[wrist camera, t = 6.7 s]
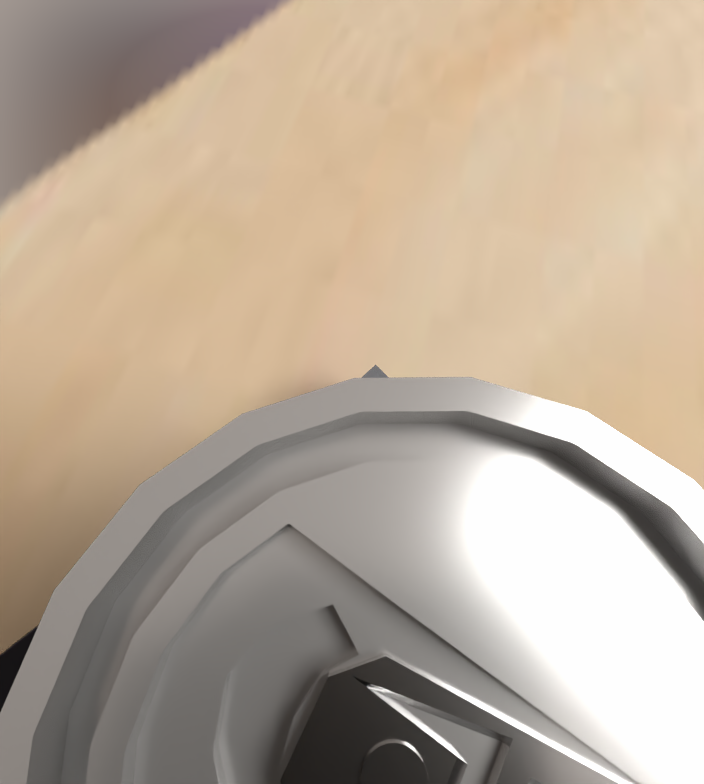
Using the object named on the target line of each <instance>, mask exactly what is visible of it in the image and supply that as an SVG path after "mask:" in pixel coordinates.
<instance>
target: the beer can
mask: <svg viewBox="0 0 704 784" xmlns="http://www.w3.org/2000/svg"><path fill="white" fill-rule="evenodd" d="M0 784H704V490H703V489H702V488H701V487H700V486H699V485H698V484H697V483H696V482H695V481H694V480H693V479H691V478H690V477H688V476H686V475H685V474H683V473H682V472H680V471H679V470H677V469H676V468H674V467H672V466H671V465H669V464H668V463H666V462H665V461H663V460H662V459H660V458H658V457H657V456H655V455H654V454H652V453H651V452H649V451H647V450H646V449H644V448H643V447H641V446H640V445H638V444H637V443H635V442H633V441H632V440H630V439H629V438H627V437H626V436H624V435H622V434H621V433H619V432H618V431H616V430H615V429H613V428H612V427H610V426H608V425H607V424H605V423H604V422H602V421H601V420H599V419H597V418H596V417H594V416H593V415H591V414H590V413H588V412H587V411H584V410H580V409H577V408H574V407H570V406H567V405H563V404H560V403H557V402H553V401H550V400H546V399H543V398H540V397H536V396H533V395H530V394H526V393H523V392H519V391H516V390H513V389H509V388H506V387H503V386H499V385H496V384H492V383H489V382H486V381H482V380H479V379H476V378H472V377H418V378H353V379H350V380H347V381H343V382H340V383H337V384H334V385H331V386H328V387H325V388H322V389H318V390H315V391H312V392H309V393H306V394H303V395H300V396H297V397H293V398H290V399H287V400H284V401H281V402H278V403H275V404H272V405H268V406H265V407H262V408H259V409H256V410H253V411H250V412H246V413H243V414H241V415H240V416H238V417H237V418H236V419H234V420H233V421H231V422H230V423H228V424H227V425H225V426H224V427H223V428H221V429H220V430H218V431H217V432H215V433H214V434H212V435H211V436H210V437H208V438H207V439H205V440H204V441H202V442H201V443H199V444H198V445H196V446H195V447H194V448H192V449H191V450H189V451H188V452H186V453H185V454H183V455H182V456H181V457H179V458H178V459H176V460H175V461H173V462H172V463H170V464H169V465H168V466H166V467H165V468H163V469H162V470H160V471H159V472H157V473H156V474H155V475H153V476H152V477H150V478H149V479H147V480H146V481H144V482H143V483H142V484H140V485H139V486H138V488H137V489H136V490H135V491H134V493H133V494H132V495H131V496H130V497H129V499H128V500H127V501H126V502H125V504H124V505H123V506H122V507H121V509H120V510H119V511H118V512H117V513H116V515H115V516H114V517H113V518H112V520H111V521H110V522H109V523H108V524H107V526H106V527H105V528H104V529H103V531H102V532H101V533H100V534H99V536H98V537H97V538H96V539H95V540H94V542H93V543H92V544H91V545H90V547H89V548H88V549H87V550H86V552H85V553H84V554H83V555H82V556H81V558H80V559H79V560H78V561H77V563H76V564H75V565H74V566H73V568H72V569H71V570H70V571H69V572H68V574H67V575H66V576H65V577H64V579H63V580H62V581H61V582H60V584H59V585H58V586H57V587H56V588H55V590H54V591H53V594H52V596H51V598H50V601H49V603H48V605H47V607H46V610H45V612H44V614H43V616H42V619H41V621H40V623H39V626H38V628H37V630H36V632H35V635H34V637H33V639H32V642H31V644H30V646H29V648H28V651H27V653H26V655H25V657H24V660H23V662H22V664H21V667H20V669H19V671H18V673H17V676H16V678H15V680H14V683H13V685H12V687H11V689H10V692H9V694H8V696H7V698H6V701H5V703H4V705H3V708H2V710H1V712H0Z"/></svg>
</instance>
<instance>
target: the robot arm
mask: <svg viewBox="0 0 704 784" xmlns="http://www.w3.org/2000/svg"><path fill="white" fill-rule="evenodd" d="M38 626H39V625H37V626H36V627H35V628H34V629H32V630H31V631H30V632H28V633H27V634H26V635H25V636H23V637H22V638H21V639H20V640H18V641H17V642H16V643H14V644H13V645H12V646H11V647H9V648H8V649H7V650H5V651H4V652H3V653H2V654H0V712H1V710H2V708H3V705H4V703H5V701H6V698H7V696H8V694H9V692H10V689H11V687H12V685H13V683H14V680H15V678H16V676H17V673H18V671H19V669H20V667H21V664H22V662H23V660H24V657H25V655H26V653H27V651H28V648H29V646H30V644H31V642H32V639H33V637H34V635H35V632H36V630H37V628H38Z"/></svg>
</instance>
